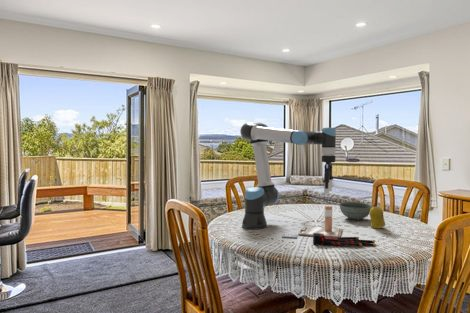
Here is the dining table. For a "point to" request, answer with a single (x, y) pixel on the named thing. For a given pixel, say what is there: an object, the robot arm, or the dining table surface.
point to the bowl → (355, 210)
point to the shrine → (376, 217)
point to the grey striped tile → (289, 235)
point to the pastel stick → (328, 218)
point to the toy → (340, 240)
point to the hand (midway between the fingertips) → (328, 192)
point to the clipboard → (319, 231)
